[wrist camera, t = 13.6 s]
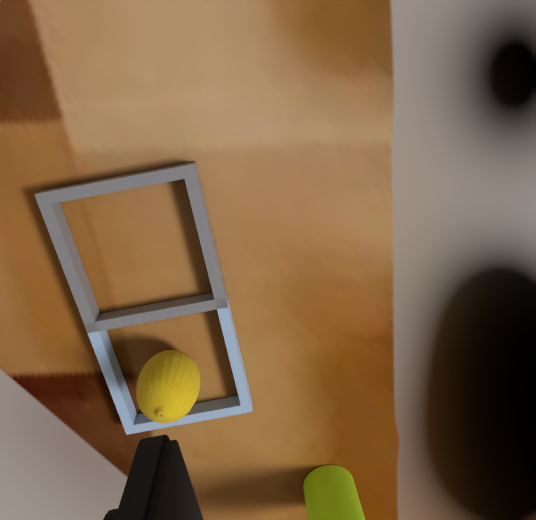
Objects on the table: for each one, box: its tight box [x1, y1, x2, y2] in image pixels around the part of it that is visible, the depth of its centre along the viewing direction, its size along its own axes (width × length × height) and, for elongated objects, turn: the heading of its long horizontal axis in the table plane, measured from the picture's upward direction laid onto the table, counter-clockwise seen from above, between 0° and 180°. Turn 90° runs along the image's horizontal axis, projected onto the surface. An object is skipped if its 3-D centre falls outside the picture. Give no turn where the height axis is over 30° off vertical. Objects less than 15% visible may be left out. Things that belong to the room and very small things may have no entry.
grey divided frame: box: [34, 162, 252, 435], centre depth 38 cm, size 25×13×2 cm, turn 10°
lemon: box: [136, 350, 200, 423], centre depth 37 cm, size 6×6×8 cm
